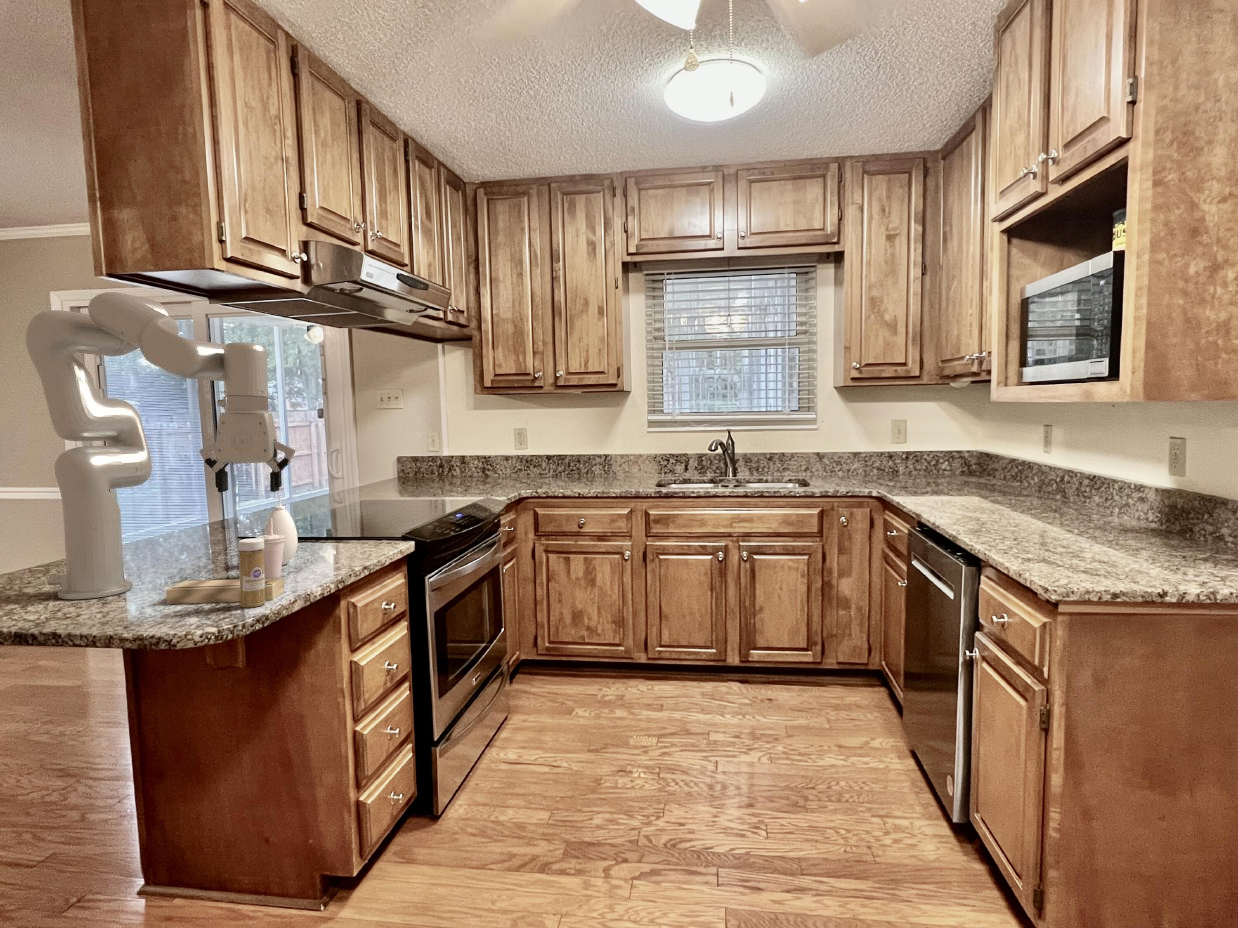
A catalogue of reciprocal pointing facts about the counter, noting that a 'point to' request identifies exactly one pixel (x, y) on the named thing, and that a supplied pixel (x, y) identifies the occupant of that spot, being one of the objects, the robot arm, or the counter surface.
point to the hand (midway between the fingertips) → (249, 491)
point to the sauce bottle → (283, 531)
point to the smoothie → (272, 553)
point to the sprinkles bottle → (251, 572)
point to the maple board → (218, 591)
